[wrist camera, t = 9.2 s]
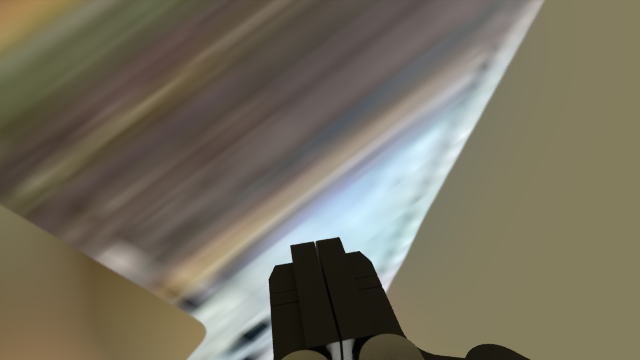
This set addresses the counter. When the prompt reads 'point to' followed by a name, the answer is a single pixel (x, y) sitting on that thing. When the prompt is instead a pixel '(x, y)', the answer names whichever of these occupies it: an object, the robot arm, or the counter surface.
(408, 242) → the counter surface
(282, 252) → the counter surface
